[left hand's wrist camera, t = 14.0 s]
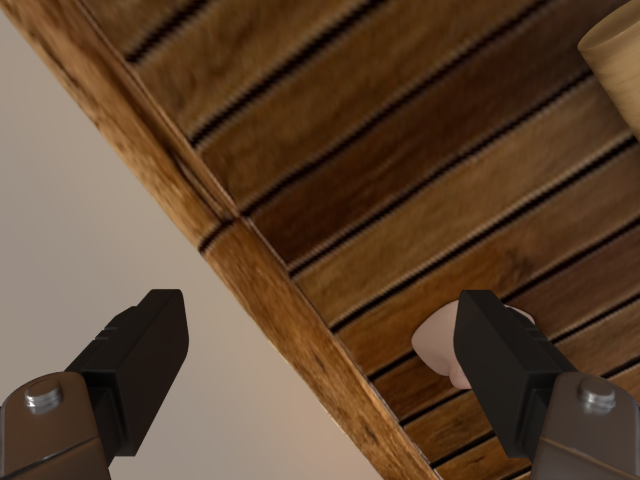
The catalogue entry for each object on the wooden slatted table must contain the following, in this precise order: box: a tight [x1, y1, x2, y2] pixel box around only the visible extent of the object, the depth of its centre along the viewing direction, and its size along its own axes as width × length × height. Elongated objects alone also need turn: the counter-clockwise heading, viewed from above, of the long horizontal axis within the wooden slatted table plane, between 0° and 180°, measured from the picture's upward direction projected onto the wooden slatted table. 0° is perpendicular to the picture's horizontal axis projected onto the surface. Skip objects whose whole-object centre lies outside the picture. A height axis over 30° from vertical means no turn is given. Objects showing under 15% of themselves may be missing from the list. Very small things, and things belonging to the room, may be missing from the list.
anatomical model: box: [412, 300, 535, 389], centre depth 43 cm, size 13×4×12 cm
